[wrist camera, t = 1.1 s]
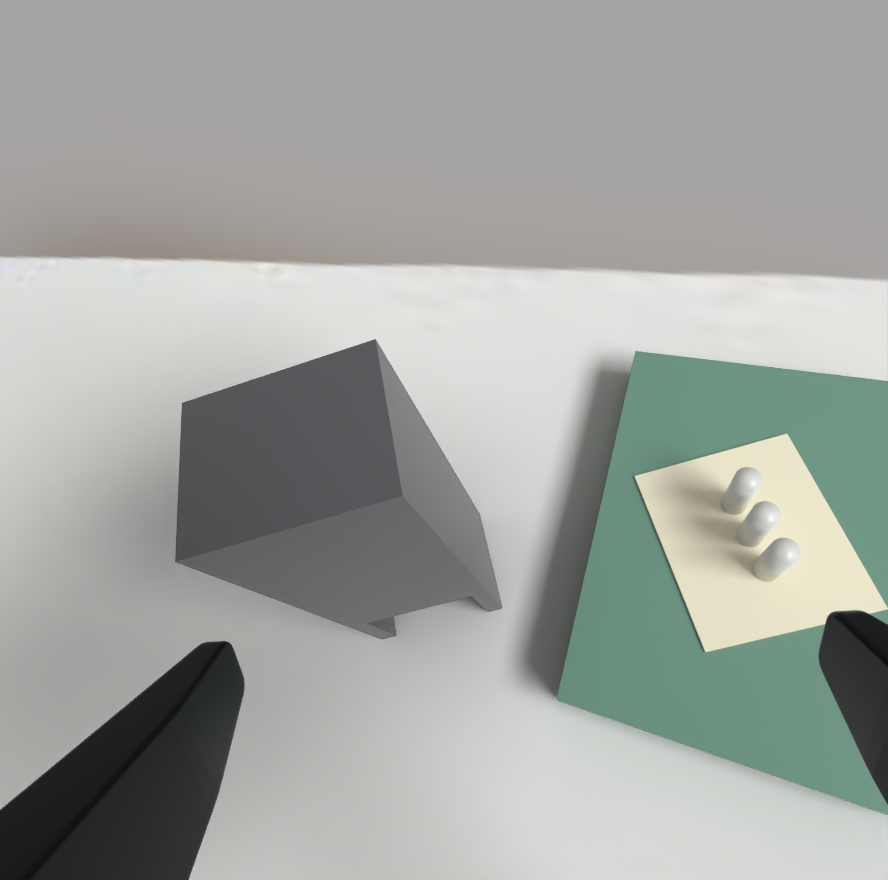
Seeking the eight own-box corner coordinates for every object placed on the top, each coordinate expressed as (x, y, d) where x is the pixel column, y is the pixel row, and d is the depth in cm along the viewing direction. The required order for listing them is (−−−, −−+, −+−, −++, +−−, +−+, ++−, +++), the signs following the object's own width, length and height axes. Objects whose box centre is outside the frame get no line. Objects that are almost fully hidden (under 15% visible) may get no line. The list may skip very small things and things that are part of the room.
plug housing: (502, 608, 22) (402, 495, 11) (382, 639, 22) (175, 561, 12) (479, 513, 24) (375, 339, 13) (369, 544, 24) (182, 403, 14)
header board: (899, 818, 16) (978, 845, 13) (559, 701, 20) (550, 696, 16) (906, 406, 21) (965, 345, 18) (633, 370, 25) (638, 313, 21)
